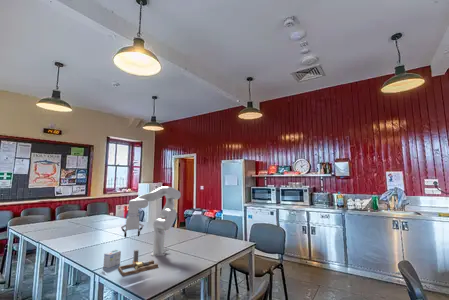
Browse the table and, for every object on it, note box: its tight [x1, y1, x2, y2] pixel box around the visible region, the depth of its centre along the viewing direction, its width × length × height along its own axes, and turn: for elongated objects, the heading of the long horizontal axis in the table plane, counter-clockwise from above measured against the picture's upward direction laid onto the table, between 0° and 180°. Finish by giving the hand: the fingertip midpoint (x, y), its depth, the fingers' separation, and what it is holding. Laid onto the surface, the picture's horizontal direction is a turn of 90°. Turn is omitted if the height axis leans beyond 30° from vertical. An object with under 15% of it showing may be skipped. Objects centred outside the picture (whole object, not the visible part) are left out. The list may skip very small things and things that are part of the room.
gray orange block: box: [132, 249, 139, 264], centre depth 181 cm, size 3×5×11 cm, turn 37°
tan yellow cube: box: [134, 261, 143, 270], centre depth 171 cm, size 4×4×4 cm
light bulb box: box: [102, 249, 122, 269], centre depth 177 cm, size 11×7×11 cm, turn 157°
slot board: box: [117, 259, 159, 277], centre depth 171 cm, size 26×14×3 cm, turn 127°
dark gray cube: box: [141, 260, 150, 266], centre depth 174 cm, size 4×4×4 cm
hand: (132, 236), depth 183 cm, fingers open, 9 cm apart
